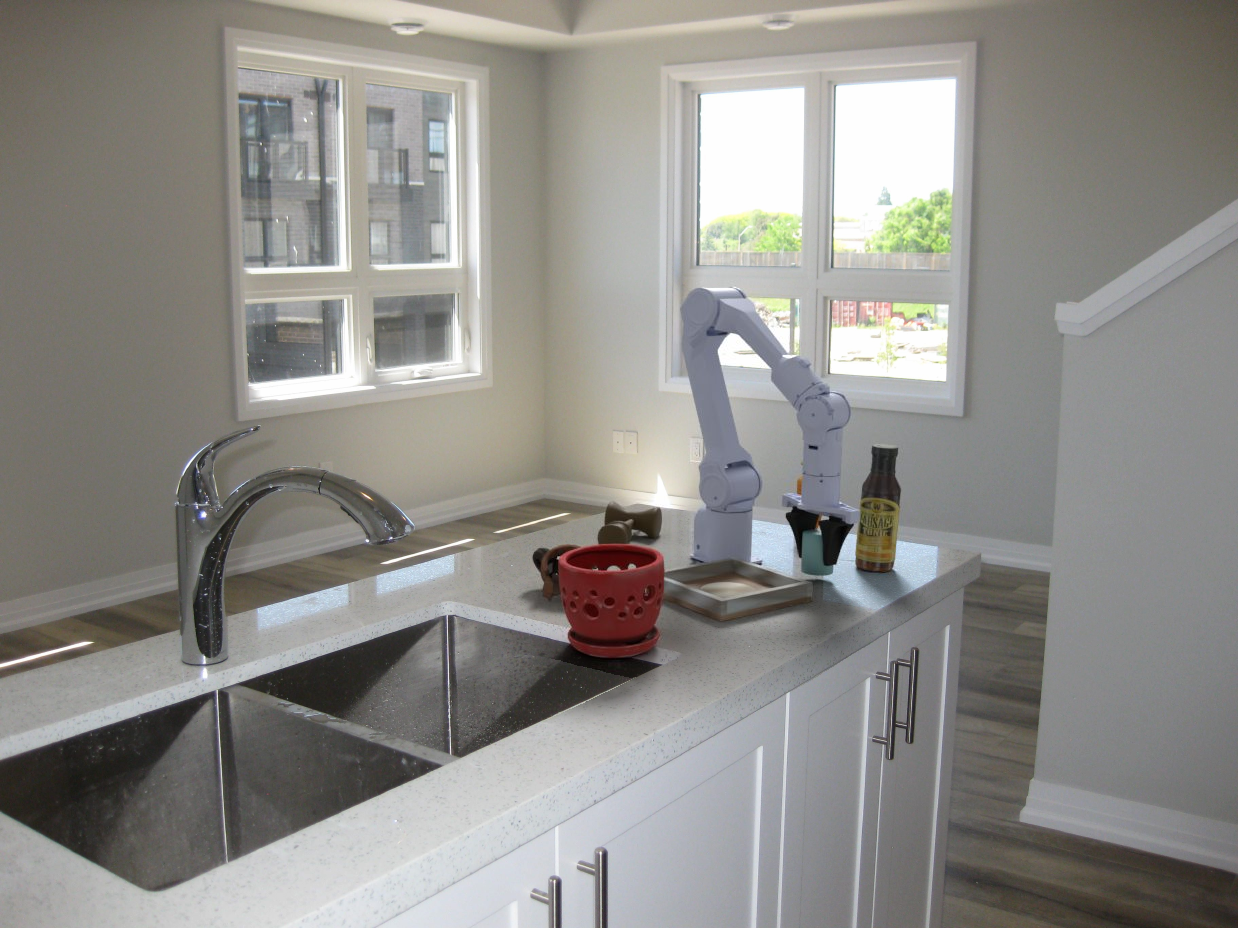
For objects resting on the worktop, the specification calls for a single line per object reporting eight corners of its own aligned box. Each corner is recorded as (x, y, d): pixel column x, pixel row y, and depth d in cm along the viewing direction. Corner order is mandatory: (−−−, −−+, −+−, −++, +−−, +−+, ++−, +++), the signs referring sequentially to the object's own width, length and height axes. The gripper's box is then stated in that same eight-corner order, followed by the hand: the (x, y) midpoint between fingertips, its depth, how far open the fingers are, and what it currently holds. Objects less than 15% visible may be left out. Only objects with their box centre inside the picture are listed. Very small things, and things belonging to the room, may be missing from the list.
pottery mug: (615, 593, 170) (611, 553, 165) (574, 633, 165) (569, 593, 159) (552, 560, 176) (547, 521, 171) (512, 598, 171) (505, 559, 165)
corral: (646, 591, 169) (646, 573, 169) (733, 574, 179) (734, 557, 178) (721, 621, 155) (721, 601, 155) (811, 601, 165) (812, 582, 165)
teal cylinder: (794, 570, 176) (796, 531, 175) (817, 565, 179) (818, 528, 178) (816, 577, 172) (818, 538, 171) (839, 572, 175) (841, 534, 174)
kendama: (582, 554, 193) (617, 525, 212) (638, 560, 190) (668, 530, 209) (583, 519, 192) (618, 493, 210) (639, 525, 189) (669, 498, 208)
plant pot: (584, 625, 153) (584, 538, 151) (677, 639, 148) (679, 548, 146) (540, 656, 141) (540, 561, 139) (640, 671, 136) (641, 573, 134)
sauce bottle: (851, 570, 182) (857, 446, 178) (858, 561, 187) (864, 441, 184) (893, 575, 179) (900, 449, 176) (899, 565, 185) (906, 443, 182)
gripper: (768, 468, 177) (765, 554, 179) (837, 483, 165) (833, 575, 167) (802, 464, 181) (798, 548, 183) (871, 479, 169) (866, 568, 171)
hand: (817, 560), depth 175 cm, fingers closed on teal cylinder, 5 cm apart
